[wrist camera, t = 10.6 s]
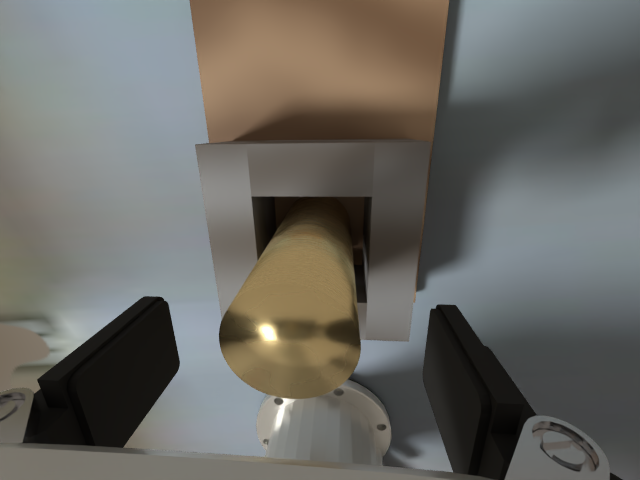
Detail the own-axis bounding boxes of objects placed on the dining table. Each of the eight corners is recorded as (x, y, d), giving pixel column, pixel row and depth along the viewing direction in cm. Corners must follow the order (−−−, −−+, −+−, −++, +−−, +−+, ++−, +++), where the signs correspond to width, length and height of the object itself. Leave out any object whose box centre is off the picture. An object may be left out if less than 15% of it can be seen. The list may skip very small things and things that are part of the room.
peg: (363, 226, 20) (391, 351, 9) (317, 266, 21) (292, 418, 10) (317, 179, 19) (284, 254, 8) (273, 224, 21) (191, 341, 9)
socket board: (411, 294, 23) (434, 349, 17) (235, 289, 24) (201, 340, 18) (451, -77, 15) (516, -202, 10) (190, -60, 16) (107, -164, 11)
